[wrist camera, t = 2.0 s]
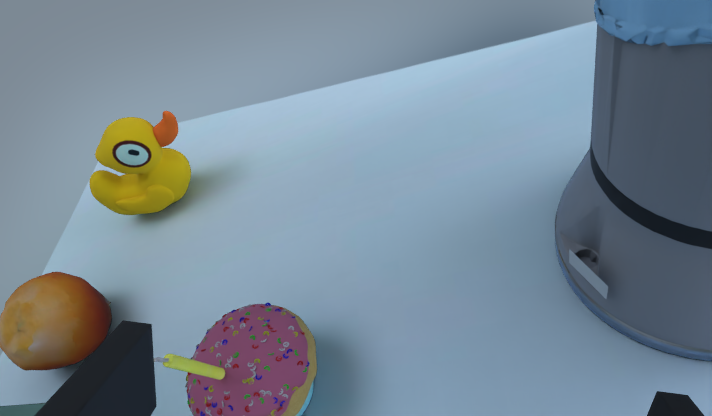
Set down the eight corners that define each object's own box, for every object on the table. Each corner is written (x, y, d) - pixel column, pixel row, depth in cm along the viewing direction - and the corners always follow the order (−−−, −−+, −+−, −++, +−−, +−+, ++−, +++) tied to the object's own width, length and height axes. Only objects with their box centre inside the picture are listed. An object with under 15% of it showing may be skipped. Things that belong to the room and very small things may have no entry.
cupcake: (306, 478, 29) (192, 436, 20) (206, 431, 33) (74, 378, 24) (356, 347, 33) (280, 262, 24) (262, 319, 37) (166, 237, 28)
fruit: (128, 263, 44) (52, 265, 36) (139, 349, 43) (63, 371, 35) (59, 278, 46) (-26, 284, 38) (68, 361, 45) (-19, 384, 37)
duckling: (218, 156, 52) (160, 85, 44) (224, 188, 48) (162, 117, 40) (127, 202, 52) (54, 140, 45) (126, 238, 48) (47, 177, 41)
